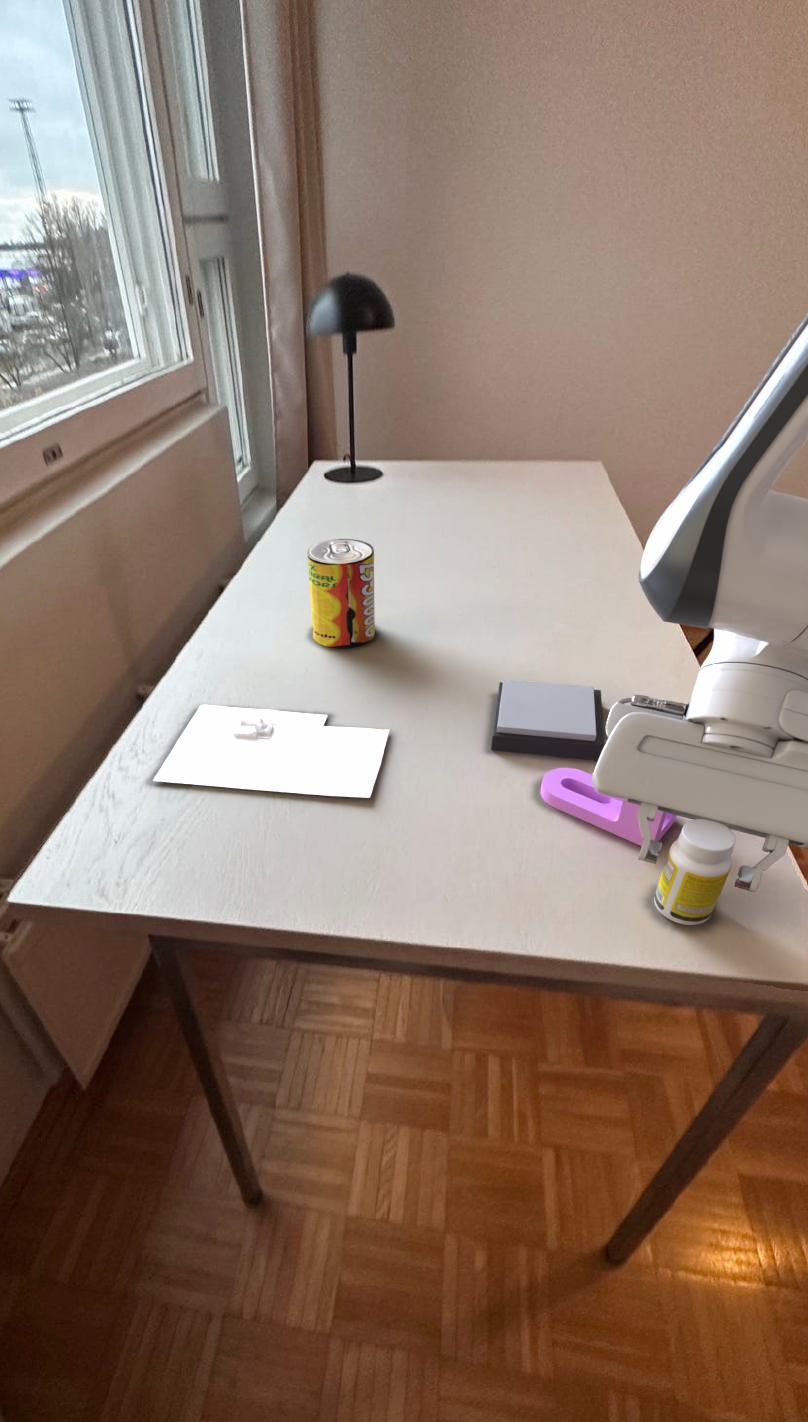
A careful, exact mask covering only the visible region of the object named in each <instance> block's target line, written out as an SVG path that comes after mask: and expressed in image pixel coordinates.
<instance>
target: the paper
mask: <svg viewBox="0 0 808 1422" xmlns="http://www.w3.org/2000/svg"><path fill="white" fill-rule="evenodd" d="M327 718H328V714H321V713H306V712H296V711H285V710H277V709H268V708H267V709H265V708H247V707H236V706H235V707H233V706H224V705H215V704H200V705H199V706H198V709H197V710H196V712H195V713H194V715H193V717H192V718H191V720H190V721H189V723H188V724H187V726H186V728H185V729H184V730H183V732H182V733H181V735H180V737H179V738H178V739H177V741H176V743H175V744H174V747H173V748H172V749H171V751H170V753H169V754H168V756H167V758H166V759H165V761H164V762H163V763H162V765H161V767H160V769H159V770H158V772H157V773H156V775H155V776H154V778H153V779H152V781H153V782H161V783H163V782H164V783H173V784H183V785H184V784H185V785H195V786H196V785H198V786H207V787H208V786H210V787H221V788H228V789H229V788H231V789H242V790H253V791H267V792H279V793H290V794H291V793H292V794H302V795H312V796H313V795H315V796H316V795H318V796H329V797H346V798H347V797H349V798H363V799H364V798H367V799H369V798H371V795H372V792H373V789H374V786H375V783H376V780H377V777H378V773H379V771H380V768H381V765H382V760H383V757H384V752H385V749H386V748H385V747H386V745H387V741H388V737H389V735H390V734H389V733H390V729H384V728H383V729H382V728H369V727H353V726H331V725H330V726H329V725H325V723H326V720H327Z"/></svg>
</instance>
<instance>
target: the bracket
mask: <svg viewBox="0 0 808 1422" xmlns="http://www.w3.org/2000/svg"><path fill="white" fill-rule="evenodd" d="M592 776H593V774H591V773H588V772H587V771H584V770H581V769H578V768H575V767H574V768H573V767H559V768H554V769H551V770H549V771H547V772H546V773H545V774H544V775H543V777H542V781H541V785H540V791H539V792H540V797H541V799H542V800H543V801H544V802H545V803H546V804H548V805H549V806H550V807H552V808H555V809H557V810H558V811H561V812H564V813H565V814H568V815H570V816H573V817H575V818H577V819H579V820H581V821H584V822H586V823H588V824H591V825H593V826H595V827H597V828H598V829H599V828H600V829H602V830H604V831H607V833H608V832H609V833H611V834H613V835H615V836H618V837H620V838H622V839H624V840H627V841H629V842H631V843H633V844H636V845H637V846H640V847H642V845H643V842H644V840H643V839H642V835H641V831H640V828H639V824H638V820H637V815H638V812H639V808H640V806H639V805H635V804H632V803H628V802H624V801H620V800H616V799H612V798H608V797H604V796H601V795H599V794H598V793H597V792H596V790H595V788H594V786H593V784H592ZM677 817H678V815H674V814H670V813H666V812H663V811H659V810H657V813H656V816H655V819H654V821H653V822H651V821H648V823H649V827H650V831H651V835H652V839H653V840H654V841H657V842H660V841H661V839H662V838H663V836H665V834H666V833H667V832H668V830H669V829H670V828H671V827H672V825H673V824H674V823H675V822H676V821H677Z"/></svg>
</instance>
